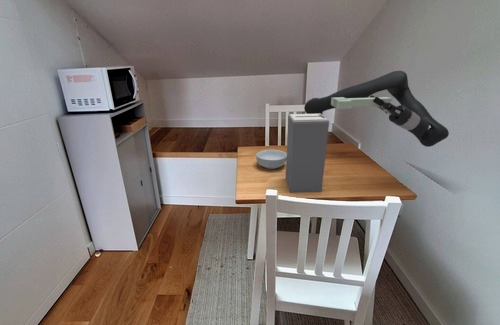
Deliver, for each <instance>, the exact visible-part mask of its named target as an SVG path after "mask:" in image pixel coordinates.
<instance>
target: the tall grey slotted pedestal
mask: <svg viewBox="0 0 500 325" xmlns="http://www.w3.org/2000/svg"><path fill="white" fill-rule="evenodd" d="M329 126H330V121H329V119H328V118H326V117H325V116H324V115H323V114H322V115H321V114H307V113H293V114H292V113H290V114H287V137H286V139H287V140H286V154H287V159H286V162H285V166H286V168H285V181H286V184H287V187H288V190H289V193H296V194H297V193H322V191H323V182H324V172H325V163H326V157H327V156H326V155H327V144H328V136H329Z"/></svg>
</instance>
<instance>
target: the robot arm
mask: <svg viewBox="0 0 500 325" xmlns="http://www.w3.org/2000/svg"><path fill="white" fill-rule="evenodd" d="M386 90H387V92H388V93H389V94H390V95H391V96H392V97H393V98H394V99H396V101H397V102H398V103H399V105H397V106H396V105H395V104H392V102H391V103H387V102H386V101H383V100H381V99H380V98H378V96H374V94H376V93H379V92H382V91H386ZM336 97H344V98H375V99H374V100H373V102H374V103H376V104H378V105H379V106H376V107H377V108H378V110H380V111H383V113H384V114H387V115H388V120H389V121H390V122H391V123H393V124H395V125H396V126H398V127H399V128H401V129H403V130H406V131H407V132H409V133H411V134H412V135H413V136H414V137H416V139H417V140H418V141H419V142H420V144H421V145H422V146H424V147H426V148H427V147H429V148H430V147H433V146H435V145H436V144H438V143H440V142H442V141H444V140H445V139H447V138H448V137H449V133H450V132H449V129H448V128H447V127H446V126H445V125H443V124H441V123H439V121H437V120H436V119H435V118H433V116H432V115H431V114H430V113H429V111H428V110H427V108H426V107H425V106H424V104H422V103H421V102H420V101H419V100H418V99H417V98H416V97H415V96H414V95H413V93H412V92H411V89H410V87H409V80H408V75H407V73H406V71H403V70H395V71H391V72H388V73H387V74H383V75H381V76H379V77H376V78H373V79H371V80H368V81H365V82H362V83H359V84H356V85H355V84H354V85H353V86H349V87H346V88H343V89H340V90H338V91H336V92H334V93H331V94H330V95H327V96H323V97H313V98H311V99H309V100H307V101H306V103H305V105H304V107H303V108H304V110H303V111H304V112H305V114H321V115H323V114H324V112H325V111H330V110H332V109H333V110H334V109H337V108H336V107H334V106H332V105H331V98H336Z"/></svg>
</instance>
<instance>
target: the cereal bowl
mask: <svg viewBox="0 0 500 325" xmlns="http://www.w3.org/2000/svg"><path fill="white" fill-rule="evenodd" d="M255 158H256V161H257V163H258V165H260V166H262V167H264V168H266V169H268V170H269V169H270V170H273V169H277V168H280V167H282V166H284V165H286V159H287V152H285V151H283V150H279V149H264V150H260V151H258V152H257V153H256V154H255Z"/></svg>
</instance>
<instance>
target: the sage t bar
mask: <svg viewBox="0 0 500 325" xmlns="http://www.w3.org/2000/svg"><path fill="white" fill-rule="evenodd" d="M377 97H378V96H377ZM378 98H380V99H381V100H383V101H386V102H387V103H391V104H392V99H393V98H392V97H389V96H383V97H382V96H381V97H380V96H379V97H378ZM374 99H375V98H370V97H367V98H344V97H336V98H331V105H332V106H334V107H336V108H335V109H337V110H349V109H350V110H352V108H364V107H365V108H366V107H367V108H368V107H371V108H372V107H377V106H379V105H378V104H376V103H374V102H373V100H374Z"/></svg>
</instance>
